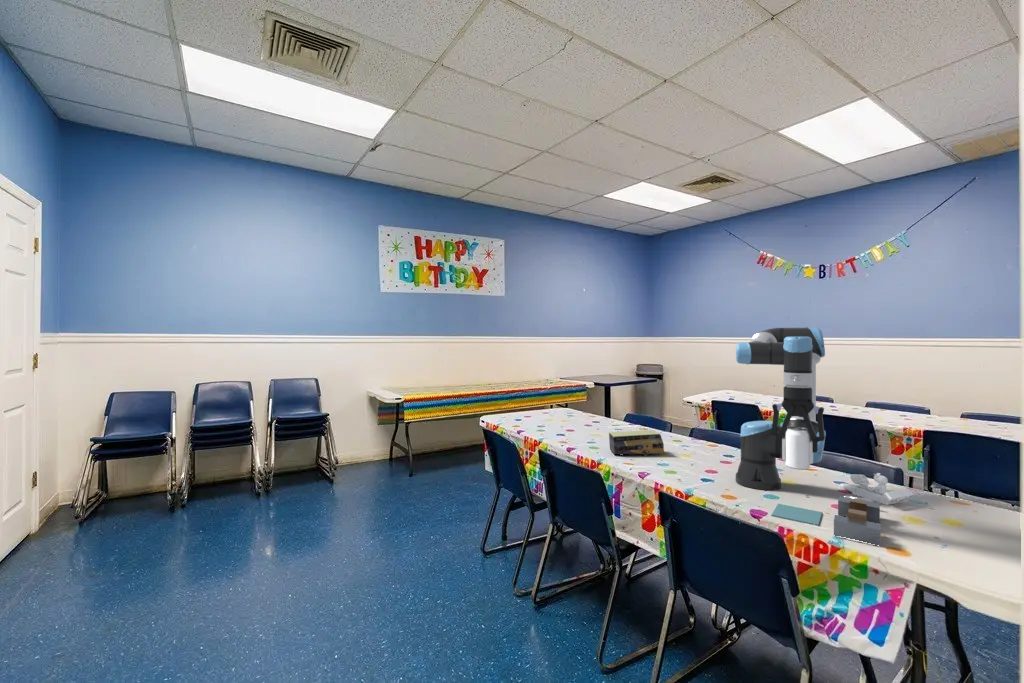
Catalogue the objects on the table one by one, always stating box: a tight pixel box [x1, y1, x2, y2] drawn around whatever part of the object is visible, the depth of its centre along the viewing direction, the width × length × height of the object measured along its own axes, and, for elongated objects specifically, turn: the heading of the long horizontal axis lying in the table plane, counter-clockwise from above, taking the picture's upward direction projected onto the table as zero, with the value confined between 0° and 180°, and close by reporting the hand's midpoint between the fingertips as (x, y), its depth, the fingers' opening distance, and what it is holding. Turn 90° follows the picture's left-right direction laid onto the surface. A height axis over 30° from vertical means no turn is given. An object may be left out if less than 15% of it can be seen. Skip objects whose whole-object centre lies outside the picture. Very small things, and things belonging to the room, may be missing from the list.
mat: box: [771, 503, 823, 526], centre depth 141 cm, size 12×12×1 cm
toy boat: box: [839, 472, 915, 506], centre depth 157 cm, size 11×20×9 cm, turn 19°
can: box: [784, 427, 811, 471], centre depth 141 cm, size 6×6×12 cm
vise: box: [833, 495, 882, 547], centre depth 135 cm, size 32×10×6 cm, turn 142°
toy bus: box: [608, 429, 665, 456], centre depth 217 cm, size 10×23×10 cm, turn 91°
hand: (797, 460), depth 141 cm, fingers closed on can, 6 cm apart
